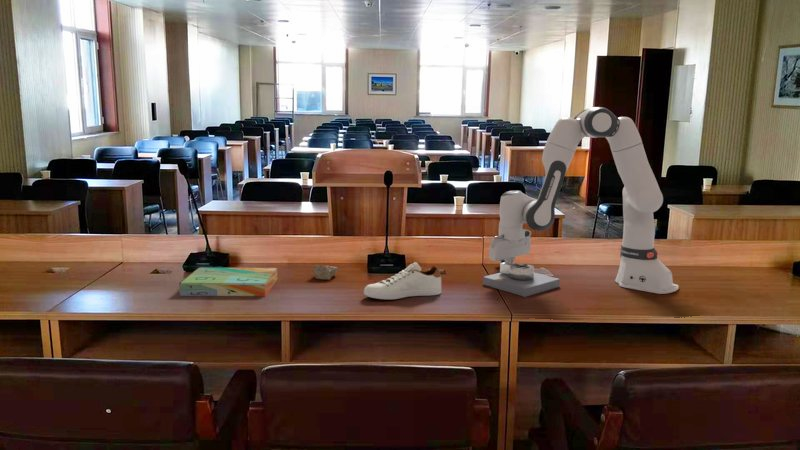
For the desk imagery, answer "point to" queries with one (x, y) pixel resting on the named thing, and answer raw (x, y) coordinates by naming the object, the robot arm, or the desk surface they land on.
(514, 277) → the dial
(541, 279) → the panel
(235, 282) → the box
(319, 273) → the rock
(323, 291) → the desk surface
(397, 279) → the Shoe
